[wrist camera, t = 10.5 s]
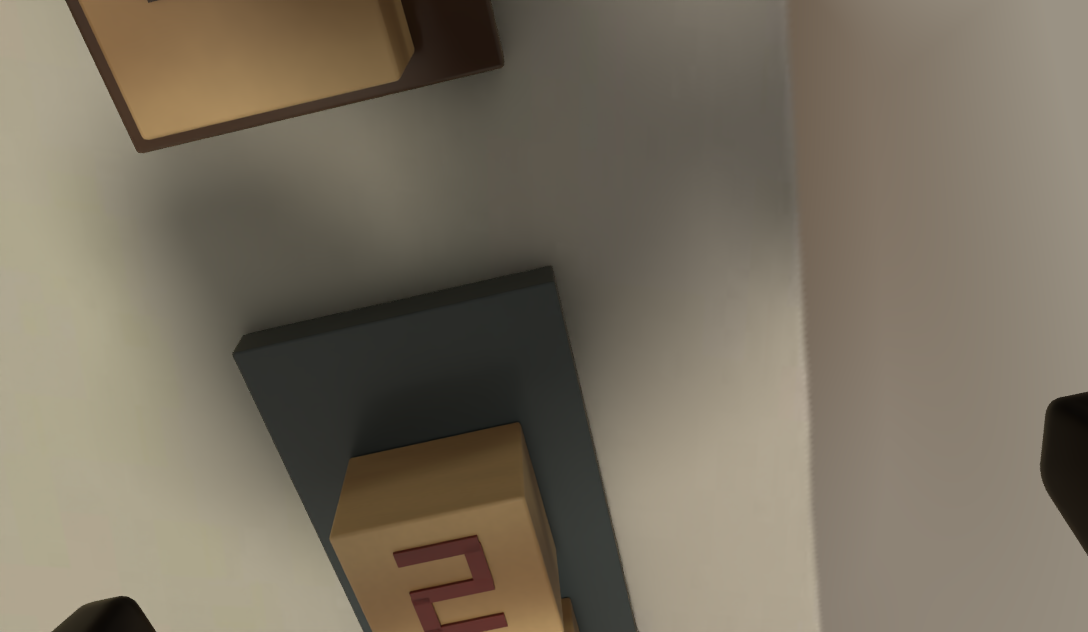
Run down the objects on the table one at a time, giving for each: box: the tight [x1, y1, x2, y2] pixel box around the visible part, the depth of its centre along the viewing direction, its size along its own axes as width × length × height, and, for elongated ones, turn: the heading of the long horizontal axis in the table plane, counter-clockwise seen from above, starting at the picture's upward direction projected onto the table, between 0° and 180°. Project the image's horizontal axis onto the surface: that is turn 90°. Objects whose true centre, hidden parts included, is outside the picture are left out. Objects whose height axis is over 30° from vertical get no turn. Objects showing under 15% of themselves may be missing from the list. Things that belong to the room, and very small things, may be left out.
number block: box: [329, 422, 564, 632], centre depth 20 cm, size 5×5×3 cm
